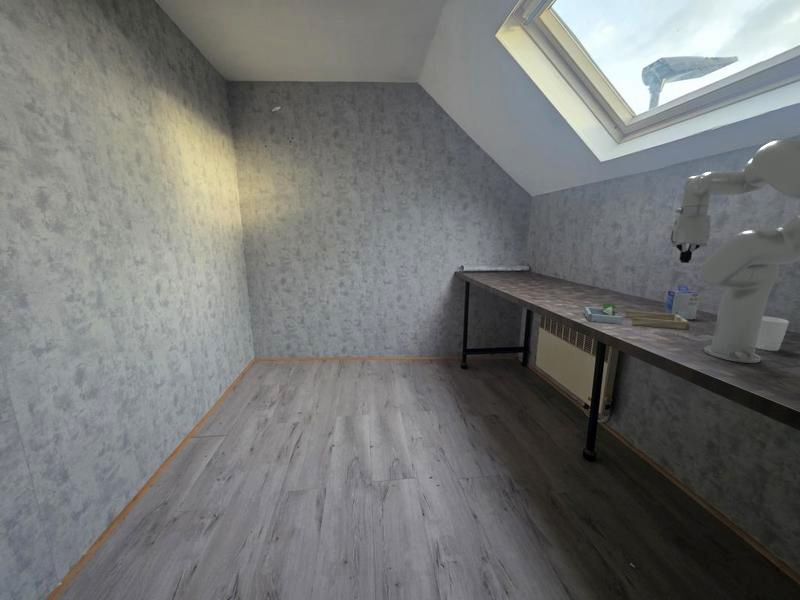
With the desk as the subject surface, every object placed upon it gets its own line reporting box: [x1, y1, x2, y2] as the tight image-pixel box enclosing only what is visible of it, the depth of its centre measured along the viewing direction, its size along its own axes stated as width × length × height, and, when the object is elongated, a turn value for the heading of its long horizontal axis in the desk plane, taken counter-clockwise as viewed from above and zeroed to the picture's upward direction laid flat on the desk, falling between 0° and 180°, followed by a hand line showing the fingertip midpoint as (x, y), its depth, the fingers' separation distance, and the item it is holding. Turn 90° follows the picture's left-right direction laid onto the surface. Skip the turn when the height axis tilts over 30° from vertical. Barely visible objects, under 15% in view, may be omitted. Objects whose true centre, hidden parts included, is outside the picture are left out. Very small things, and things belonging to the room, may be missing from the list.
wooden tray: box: [624, 309, 691, 331], centre depth 138 cm, size 14×19×3 cm
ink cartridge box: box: [664, 285, 701, 320], centre depth 145 cm, size 10×6×14 cm, turn 78°
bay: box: [583, 306, 623, 325], centre depth 146 cm, size 15×12×3 cm
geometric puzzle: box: [600, 304, 619, 316], centre depth 144 cm, size 7×7×8 cm
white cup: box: [755, 315, 790, 352], centre depth 108 cm, size 8×8×10 cm
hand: (684, 262), depth 121 cm, fingers closed
